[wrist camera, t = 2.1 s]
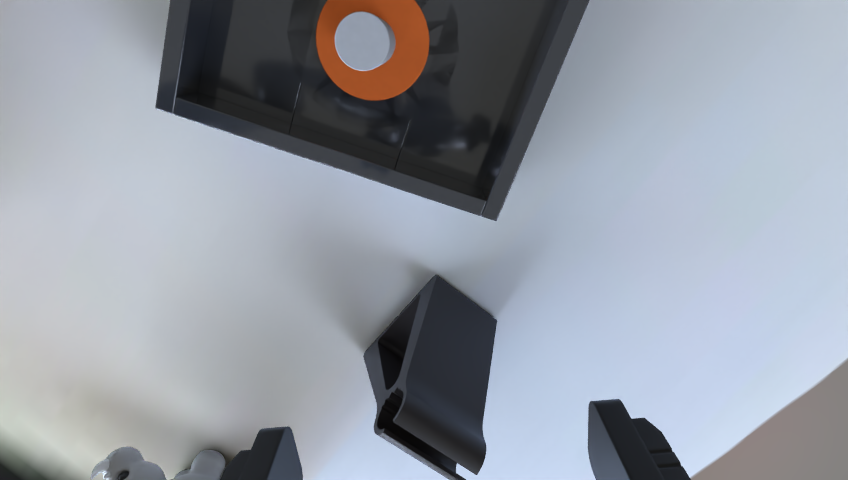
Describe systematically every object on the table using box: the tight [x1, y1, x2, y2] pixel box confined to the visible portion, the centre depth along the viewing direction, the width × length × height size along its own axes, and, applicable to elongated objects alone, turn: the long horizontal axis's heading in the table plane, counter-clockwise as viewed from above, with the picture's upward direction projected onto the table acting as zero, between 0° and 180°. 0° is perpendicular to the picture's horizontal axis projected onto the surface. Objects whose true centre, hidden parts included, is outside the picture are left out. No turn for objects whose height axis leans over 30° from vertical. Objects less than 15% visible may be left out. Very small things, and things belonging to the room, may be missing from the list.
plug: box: [316, 0, 429, 101], centre depth 27 cm, size 6×6×8 cm
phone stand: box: [363, 275, 497, 480], centre depth 33 cm, size 9×6×12 cm, turn 140°
